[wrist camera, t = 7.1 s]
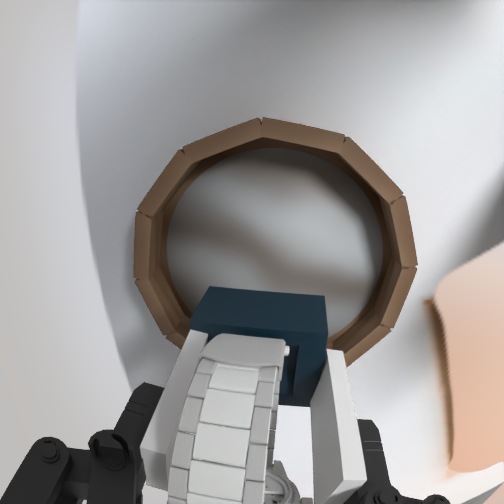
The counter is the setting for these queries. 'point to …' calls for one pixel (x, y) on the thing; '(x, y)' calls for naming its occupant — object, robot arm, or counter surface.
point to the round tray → (277, 230)
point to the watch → (246, 395)
